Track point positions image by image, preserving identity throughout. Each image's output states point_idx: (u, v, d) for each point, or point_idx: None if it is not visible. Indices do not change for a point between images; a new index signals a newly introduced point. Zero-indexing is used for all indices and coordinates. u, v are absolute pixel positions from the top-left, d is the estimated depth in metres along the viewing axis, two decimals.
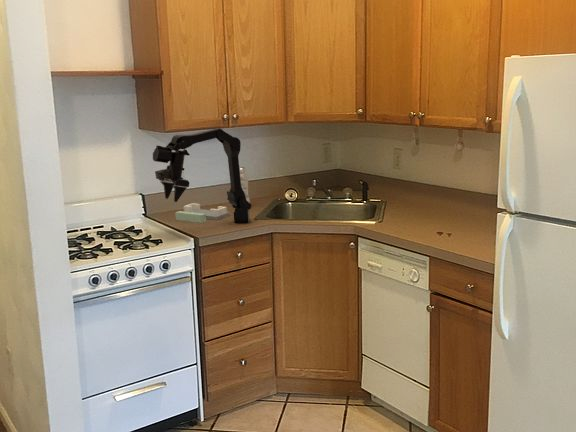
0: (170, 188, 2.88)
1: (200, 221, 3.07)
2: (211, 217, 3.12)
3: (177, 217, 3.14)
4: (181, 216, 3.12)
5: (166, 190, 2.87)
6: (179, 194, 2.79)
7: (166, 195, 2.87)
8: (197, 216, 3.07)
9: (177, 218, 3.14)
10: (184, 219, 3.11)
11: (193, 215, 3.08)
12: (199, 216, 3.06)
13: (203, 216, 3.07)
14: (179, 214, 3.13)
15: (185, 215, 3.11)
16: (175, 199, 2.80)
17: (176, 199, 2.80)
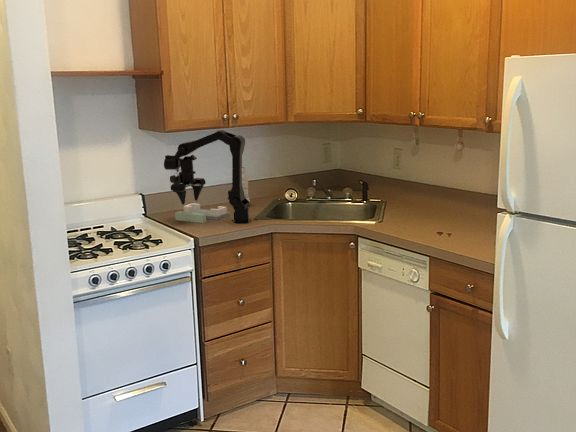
0: (197, 191, 3.12)
1: (200, 221, 3.07)
2: (211, 217, 3.12)
3: (177, 217, 3.14)
4: (181, 216, 3.12)
5: (195, 193, 3.13)
6: (182, 197, 3.04)
7: (195, 197, 3.13)
8: (197, 216, 3.07)
9: (177, 218, 3.14)
10: (184, 219, 3.11)
11: (193, 215, 3.08)
12: (199, 216, 3.06)
13: (203, 216, 3.07)
14: (179, 214, 3.12)
15: (185, 215, 3.11)
16: (182, 202, 3.05)
17: (182, 202, 3.05)
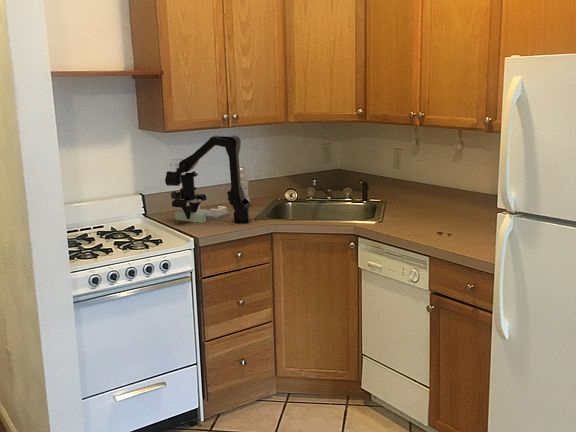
0: (194, 208, 3.11)
1: (200, 221, 3.07)
2: (211, 217, 3.12)
3: (177, 217, 3.14)
4: (181, 216, 3.12)
5: (192, 210, 3.12)
6: (187, 212, 3.08)
7: None
8: (197, 216, 3.07)
9: (177, 218, 3.14)
10: (184, 219, 3.11)
11: (193, 215, 3.08)
12: (199, 216, 3.06)
13: (203, 216, 3.07)
14: (179, 214, 3.13)
15: (185, 215, 3.11)
16: (187, 217, 3.10)
17: (187, 216, 3.09)
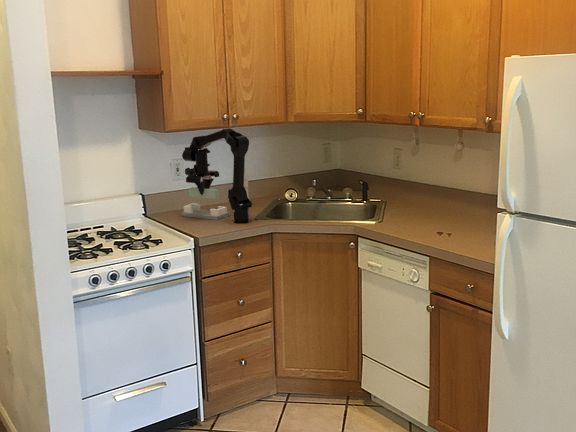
0: (207, 184, 3.18)
1: (213, 196, 3.13)
2: (211, 217, 3.12)
3: (190, 193, 3.20)
4: (195, 192, 3.19)
5: (205, 186, 3.19)
6: (201, 188, 3.15)
7: None
8: (210, 191, 3.14)
9: (190, 194, 3.21)
10: (198, 194, 3.18)
11: (206, 190, 3.15)
12: (212, 191, 3.13)
13: (216, 191, 3.13)
14: (192, 190, 3.19)
15: (198, 191, 3.17)
16: (200, 193, 3.16)
17: (201, 192, 3.16)
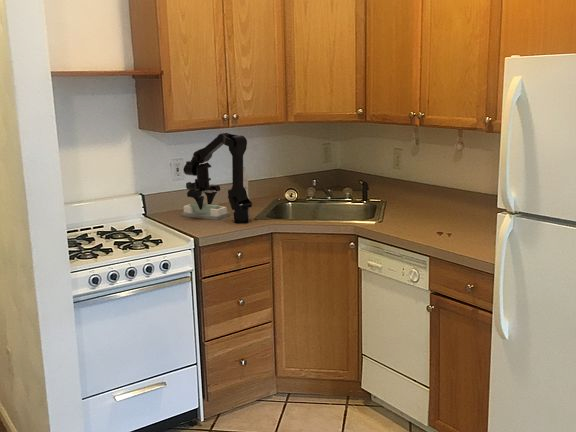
0: (210, 197, 3.21)
1: None
2: (211, 217, 3.12)
3: None
4: (196, 207, 3.21)
5: (208, 199, 3.22)
6: (200, 203, 3.15)
7: None
8: (211, 207, 3.16)
9: None
10: (199, 210, 3.20)
11: (207, 206, 3.17)
12: (213, 207, 3.15)
13: (217, 207, 3.15)
14: (194, 205, 3.21)
15: None
16: (199, 207, 3.17)
17: (200, 207, 3.17)
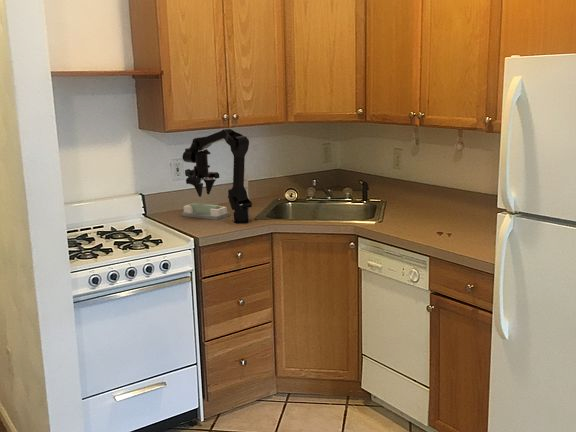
0: (209, 185, 3.19)
1: None
2: (211, 217, 3.12)
3: None
4: (196, 207, 3.21)
5: (207, 187, 3.20)
6: (199, 190, 3.14)
7: (207, 191, 3.21)
8: (211, 207, 3.16)
9: None
10: (199, 210, 3.20)
11: (207, 206, 3.17)
12: (213, 207, 3.15)
13: (217, 207, 3.15)
14: (194, 205, 3.21)
15: (200, 206, 3.19)
16: (199, 195, 3.15)
17: (199, 194, 3.15)
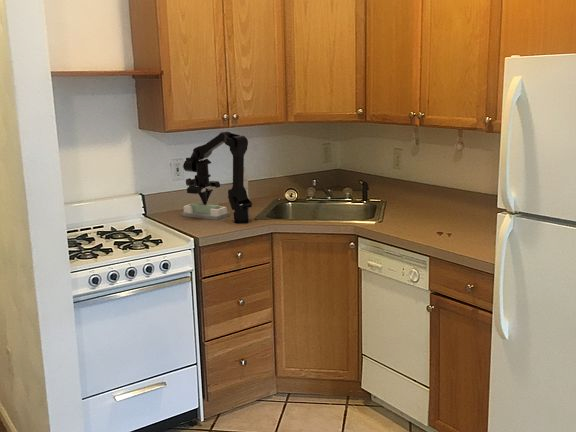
0: None
1: None
2: (211, 217, 3.12)
3: None
4: (196, 207, 3.21)
5: None
6: (204, 198, 3.17)
7: None
8: (211, 207, 3.16)
9: None
10: (199, 210, 3.20)
11: (207, 206, 3.17)
12: (213, 207, 3.15)
13: (217, 207, 3.15)
14: (194, 205, 3.21)
15: (200, 206, 3.19)
16: (203, 202, 3.19)
17: (203, 202, 3.19)
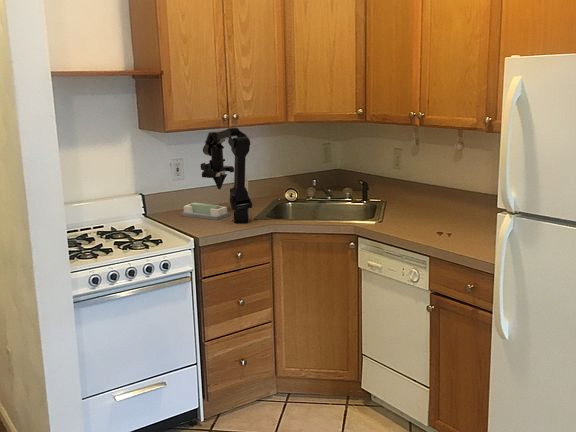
0: None
1: None
2: (211, 217, 3.12)
3: None
4: (196, 207, 3.21)
5: None
6: (218, 182, 3.20)
7: None
8: (211, 207, 3.16)
9: None
10: (199, 210, 3.20)
11: (207, 206, 3.17)
12: (213, 207, 3.15)
13: (217, 207, 3.15)
14: (194, 205, 3.21)
15: (200, 206, 3.19)
16: (218, 187, 3.22)
17: (218, 187, 3.21)
